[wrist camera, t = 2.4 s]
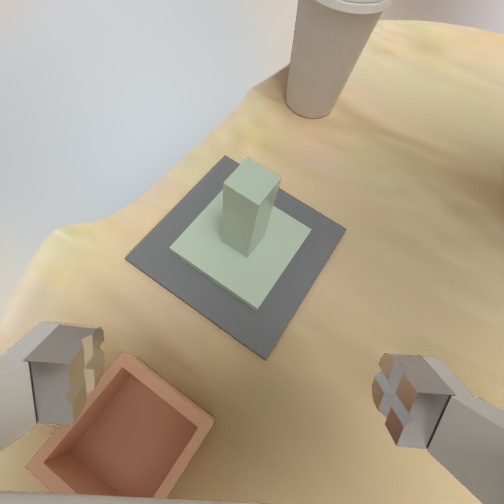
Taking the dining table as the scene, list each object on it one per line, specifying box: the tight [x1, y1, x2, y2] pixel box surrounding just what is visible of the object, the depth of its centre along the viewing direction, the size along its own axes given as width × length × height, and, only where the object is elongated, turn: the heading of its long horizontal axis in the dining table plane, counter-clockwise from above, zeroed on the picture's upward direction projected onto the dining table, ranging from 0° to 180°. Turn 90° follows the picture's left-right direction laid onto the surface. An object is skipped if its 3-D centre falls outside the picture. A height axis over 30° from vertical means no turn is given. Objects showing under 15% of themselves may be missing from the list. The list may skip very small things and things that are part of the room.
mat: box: [125, 156, 347, 360], centre depth 31 cm, size 16×16×1 cm
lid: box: [169, 157, 312, 311], centre depth 26 cm, size 10×10×10 cm
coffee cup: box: [286, 0, 394, 118], centre depth 34 cm, size 10×10×15 cm
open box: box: [26, 352, 214, 499], centre depth 21 cm, size 8×8×4 cm
